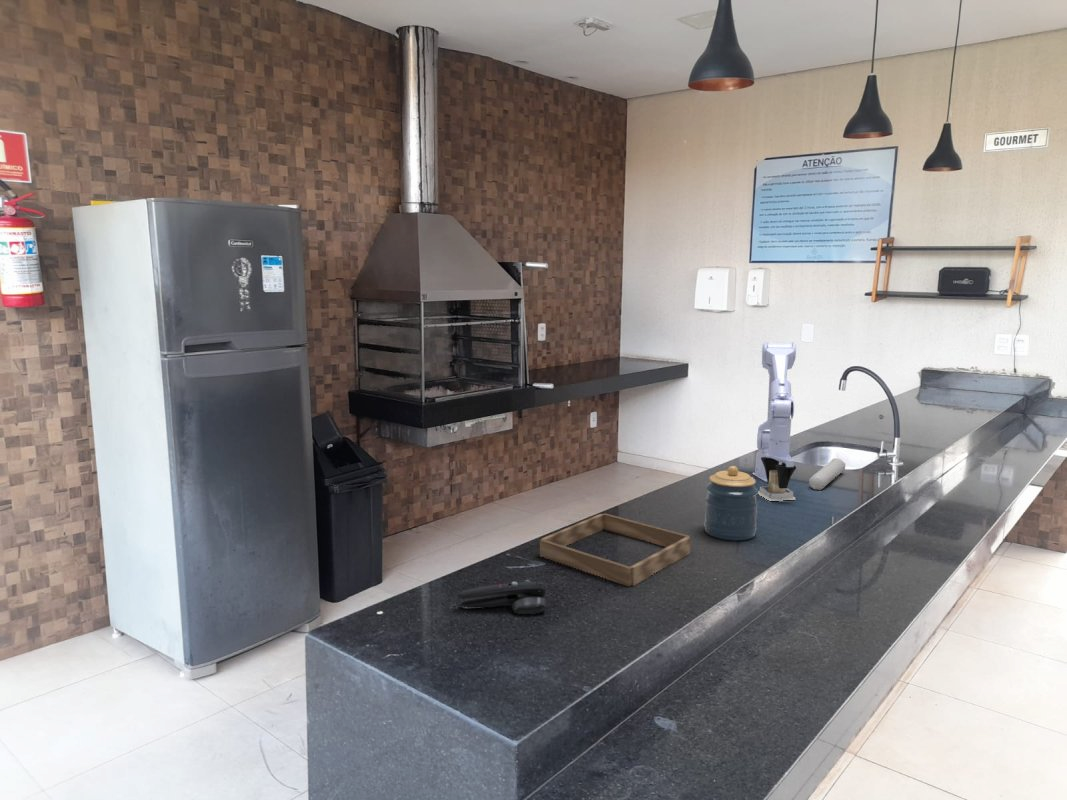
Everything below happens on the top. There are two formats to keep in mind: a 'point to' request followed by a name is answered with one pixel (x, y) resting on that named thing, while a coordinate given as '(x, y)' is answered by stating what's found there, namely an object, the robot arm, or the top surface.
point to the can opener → (508, 596)
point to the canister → (731, 505)
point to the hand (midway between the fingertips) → (776, 484)
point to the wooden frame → (613, 571)
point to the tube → (827, 474)
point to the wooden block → (774, 483)
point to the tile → (775, 499)
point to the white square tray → (768, 494)
